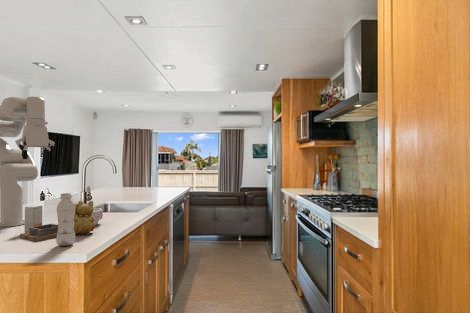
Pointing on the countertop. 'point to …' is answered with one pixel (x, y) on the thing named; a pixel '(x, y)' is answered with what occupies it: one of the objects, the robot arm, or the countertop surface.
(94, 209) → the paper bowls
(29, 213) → the skincare box
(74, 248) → the countertop surface
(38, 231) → the serum holder
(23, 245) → the countertop surface
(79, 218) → the decorative figurine
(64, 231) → the plastic bottle
